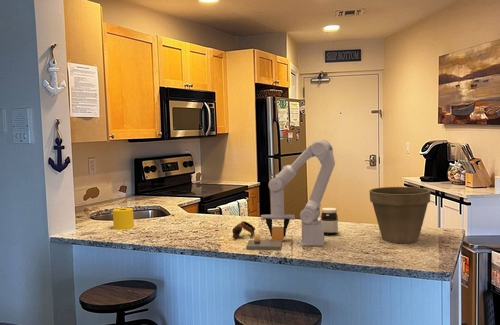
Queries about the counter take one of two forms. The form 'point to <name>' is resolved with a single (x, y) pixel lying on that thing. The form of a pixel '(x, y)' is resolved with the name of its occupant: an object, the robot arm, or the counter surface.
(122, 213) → the yellow toilet paper roll
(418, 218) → the plant pot
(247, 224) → the brown curved arch
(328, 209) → the spread jar
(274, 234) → the solid orange cube
